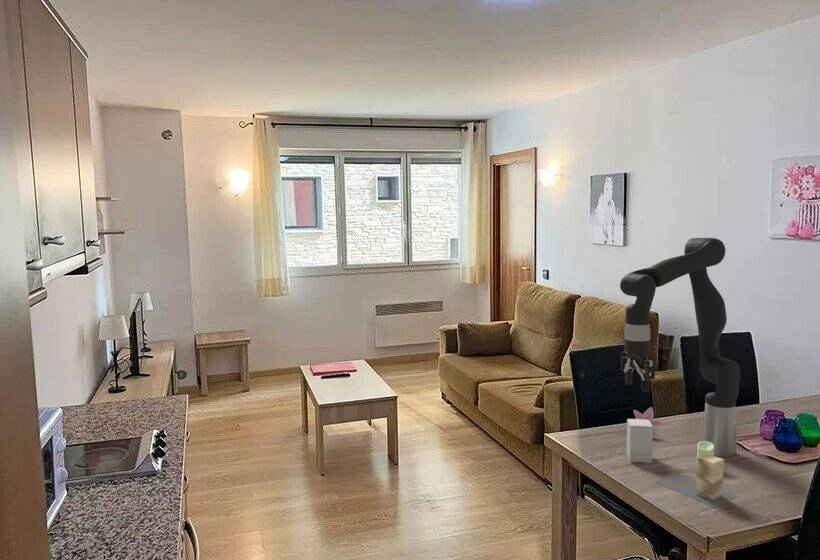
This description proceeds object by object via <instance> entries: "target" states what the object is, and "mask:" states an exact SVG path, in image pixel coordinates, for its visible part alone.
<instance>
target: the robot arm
mask: <svg viewBox="0 0 820 560" xmlns="http://www.w3.org/2000/svg"><path fill="white" fill-rule="evenodd" d="M683 252H684V254H682V255H677V256H673V257H669V258H667V259H666V258H665V259H663V260H662V261H659V262H656V263H655V264H653V265H651V266H648V267H645V268H641V269H637V270H634V271H630V272H628V273H627V274H625V275H624V276H623V277H622V278H621V280H620V283H619V288H620V290H621V292H622V293H623V294H624V295H626V296H631V297H636V299H635V302H634V303H630V304H628V305H627V306H626V307H625V325H624V326H625V327H624V351H621V352H620V370H622V371H623V373H624V380H625V382H624V383H625V385H626V386H629V385H630V386H631V385H633V382H634V380H633V378H634V377H633V375H634V374H633V371H634V370H635V371H636V372H637V374H638V375H640V378H641V391H642V392H643V393H648V392H650V388H651V387H650V385H651V384H650V382H651V381H652V380H656V370H655V368H656V366H655V360H654V359H648V355H649V354H650V352H651V327H650V325H651V324H650V322H651V321H650V318H651V317H650V315H651V314H650V311H651V308H652V304H653V302H654V301H653V300H654V299H655V294H656V289H657V288H659V287H663V286H664V285H665V286H666V284H667V285H668V284H669V283H670V282H672V281H675V280H677V279H679V278H681V277H684V276H685V275H688V277H689V280H690V284H691V285H690V286H691V289H692V295H693V296H692V297H693V302H694V303H693V304H694V311H695V319H696V324H697V325H696V326H697V330H698V331H697V333H698V341H699V362H700V363H699V364H700V373H701V376H702V377H703V378H704V380H705V381H708V382H710V383H713V384H716V388H715V391H711V392H708V393H706V394H705V398H704V400H705V401H704V428H703V429H704V430H703V433H704V434H703V441H708V442H711V443H712V444H713V445H714V447H715V448H714V456H715V457H718V458H722V457H723V458H724V457H725V458H727V457H732V456H733V455H736V454H737V442H738V441H737V440H738V428H737V426H736V425H735V420H736V419H735V418H736V417H735V416H736V401H737V399H738V397H739V390H740V389H739V388H740V379H741V371H740V366H739V365H738V363H737V362H736V361H734V360H732V359H728V358H725V357H722V356H721V355H720V353H721V352H720V346H719V343H720V342H719V340H720V338H721V336H722V334H723V331H724V330H725V327H726V325H727V309H726V305H725V301H724V298H723V296H722V295H721V293H720V292H719V291H718V289H717V287H715V285H714V284H713V282H712V281H711V279H710V277H709V273H708V269H707V268H709V267H713V266H716V265H719V264H720V263H721V262H722V261H723V260H724V258H725V256H726V247H725V243H724V242H723V241H722V240H720V239H719V238H716V237H692V238H690V239H688V240H687V241H686V243H685V245H684V251H683Z"/></svg>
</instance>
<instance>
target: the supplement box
mask: <svg viewBox="0 0 820 560" xmlns="http://www.w3.org/2000/svg"><path fill="white" fill-rule="evenodd" d="M653 438H654V437H653V426H652V424H651V423H650V421H649V420H646V419H636V418H627V419H626V456H627V458H628V461H629V462H632V463H633V462H634V463H651V464H652V463H653V449H654V448H653V446H654V445H653V441H654V440H653Z"/></svg>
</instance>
